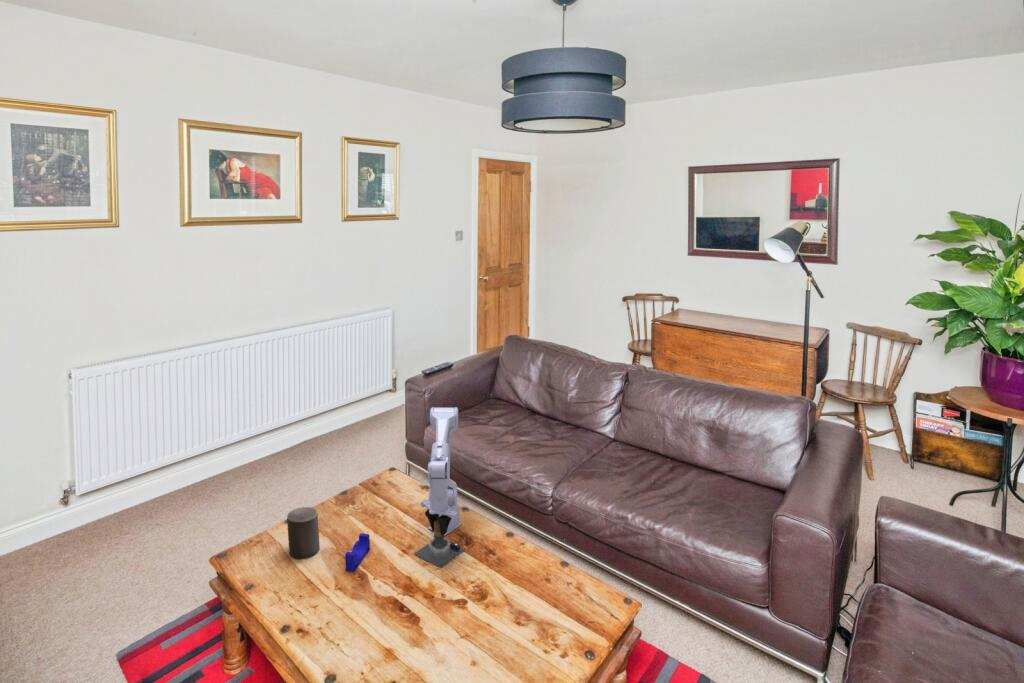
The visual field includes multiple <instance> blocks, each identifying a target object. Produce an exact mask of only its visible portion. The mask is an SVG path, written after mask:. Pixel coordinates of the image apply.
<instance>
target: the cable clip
mask: <svg viewBox="0 0 1024 683" xmlns="http://www.w3.org/2000/svg"><path fill="white" fill-rule="evenodd" d="M370 540H371V539H370V534H369V533H359V535H358V540H356V542H355V543H354V544H353V547H352V550H351V551H346V552H345V554H344V558H345V571H348V572H349V571H350V572H356V570H357V569H358V568H359V566H360V564H362V562H363V561H364V559H365V557H367V555H368V553H369V552H370V551H371V543H370Z"/></svg>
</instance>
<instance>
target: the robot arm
mask: <svg viewBox="0 0 1024 683" xmlns="http://www.w3.org/2000/svg"><path fill="white" fill-rule="evenodd" d="M429 423H430V427H431V428H432V429H431V430H432V431H434V432H435V442H433V443H432V446H431V453H430V461H428V464H427V478H428V484H429V491H428V499H426V498H425V499H422V500H421V501H420V507H421V508H424V507H425V508H426V511H424V515H425V517H426V518H427V520H428V521H429V522H428V523H429V524H430V526H428V527H427V528H428V530H430V531H432V532H434V520H435V519H436V518H438V521H439V524H440V532H441V535H444V537H445V536H447V535H448V534H450V533H451V532H453V531H454V530H456V529H457V528H459V527H460V526H461V525H462V522H460V519H461V518H460V506H459V503H458V485H457V482H456V481H454V480H453V479H451V476H450V475H451V474H450V471H451V441H452V440H451V438H452V435H453V433H454V432H455V431H457V430H458V428H459V408H458V407H457V406H455V407H434V406H432V407H431V408H430V409H429Z"/></svg>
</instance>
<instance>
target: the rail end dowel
mask: <svg viewBox="0 0 1024 683" xmlns="http://www.w3.org/2000/svg"><path fill="white" fill-rule="evenodd" d="M434 538H435V539H436V540H441V539H443V538H445V536H444V535H441V532H440V524H439V521H438V518H436V519H435V520H434V531H433V539H434Z"/></svg>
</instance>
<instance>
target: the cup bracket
mask: <svg viewBox="0 0 1024 683" xmlns="http://www.w3.org/2000/svg"><path fill="white" fill-rule="evenodd" d="M465 551H466V549H465V548H463V547H461V546H460V544H458V542H452V541H450V539H449V538H447V537H444V538H443V539H441V540H436V539H435V538H434V537H433V538H432V539H431V540H429V542H428V544H426V545H425V546H423V547H421V548H420V549H418V550H417V551H415V552H414V554H413V555H414V556H415V555H416V557H417V556H418V557H417V558H419V557H420V559H421V558H422V559H421V560H424V561H425V562H428V563H430V564H432V565H434V566H436V567H437V568H439V567H440V568H439V569H442V568H443V566H444V565H445V564H446V565H448V564H449V563H450V562H452V561H453V560H455V559H456V558H457V557H458V556H460V555H461V554H462V553H464V552H465ZM460 553H461V554H460ZM459 554H460V555H459ZM456 556H457V557H456ZM455 557H456V558H455ZM452 559H453V560H452ZM451 560H452V561H451ZM449 561H450V562H449ZM448 562H449V563H448ZM447 563H448V564H447ZM446 565H445V566H446ZM445 566H444V567H445Z"/></svg>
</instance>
